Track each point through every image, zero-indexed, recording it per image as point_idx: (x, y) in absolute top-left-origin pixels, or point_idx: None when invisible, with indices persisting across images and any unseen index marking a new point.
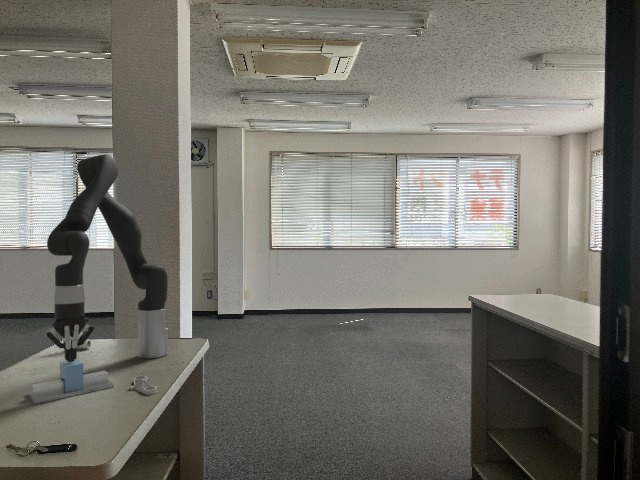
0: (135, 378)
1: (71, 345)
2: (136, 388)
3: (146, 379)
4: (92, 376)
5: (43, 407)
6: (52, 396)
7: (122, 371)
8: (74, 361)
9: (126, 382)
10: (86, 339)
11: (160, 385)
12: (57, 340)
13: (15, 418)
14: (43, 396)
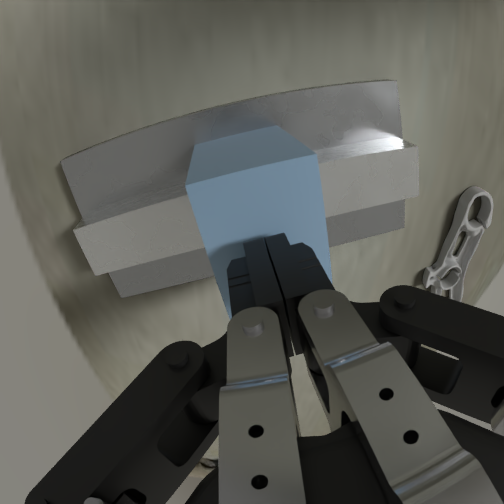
0: (470, 200)
1: (306, 356)
2: (434, 287)
3: (482, 233)
4: (352, 208)
5: (161, 326)
6: (176, 281)
7: (459, 22)
8: (293, 221)
9: (442, 187)
10: (447, 368)
11: (481, 270)
12: (180, 471)
13: (110, 367)
14: (142, 268)
